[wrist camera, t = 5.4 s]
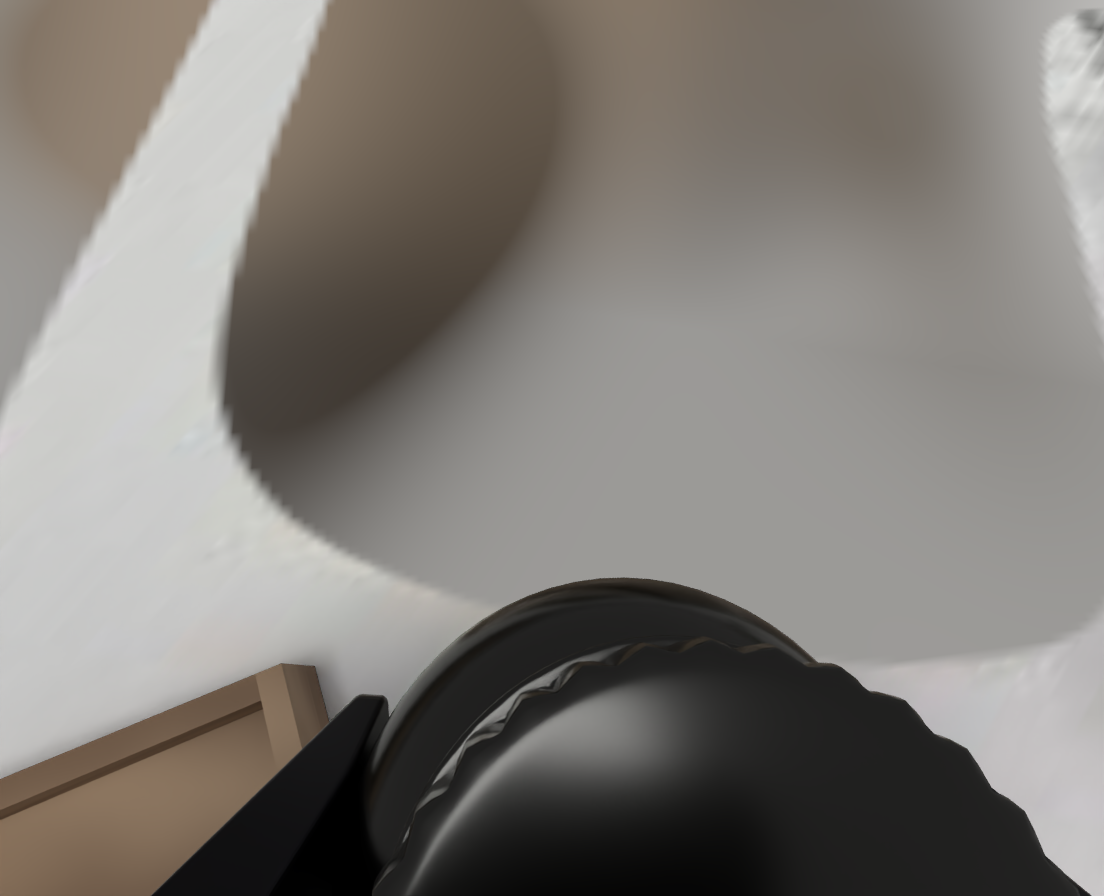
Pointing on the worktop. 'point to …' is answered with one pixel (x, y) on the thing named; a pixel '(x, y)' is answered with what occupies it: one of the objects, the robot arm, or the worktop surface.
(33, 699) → the worktop surface
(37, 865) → the tray
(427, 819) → the supplement bottle
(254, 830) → the robot arm
